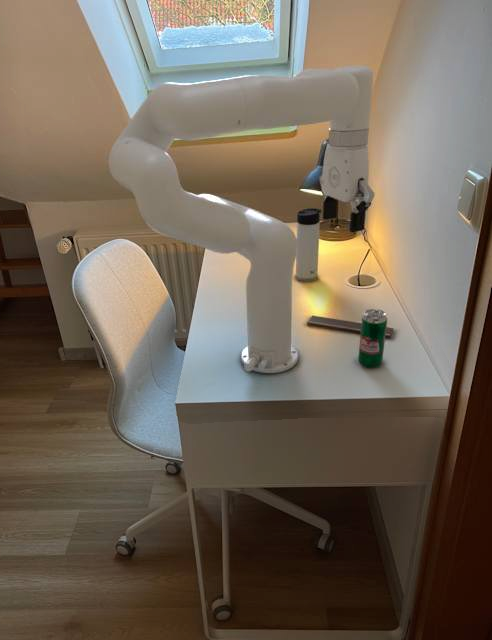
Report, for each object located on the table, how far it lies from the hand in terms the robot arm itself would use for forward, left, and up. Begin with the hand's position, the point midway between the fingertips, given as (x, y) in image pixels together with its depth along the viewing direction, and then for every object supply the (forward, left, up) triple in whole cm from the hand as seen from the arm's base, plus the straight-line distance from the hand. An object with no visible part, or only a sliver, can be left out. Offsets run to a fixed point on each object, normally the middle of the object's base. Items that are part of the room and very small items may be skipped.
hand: (342, 224), depth 115 cm
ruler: (+5, -2, -27) cm, 28 cm away
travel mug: (+31, +17, -27) cm, 45 cm away
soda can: (-9, -10, -27) cm, 30 cm away
